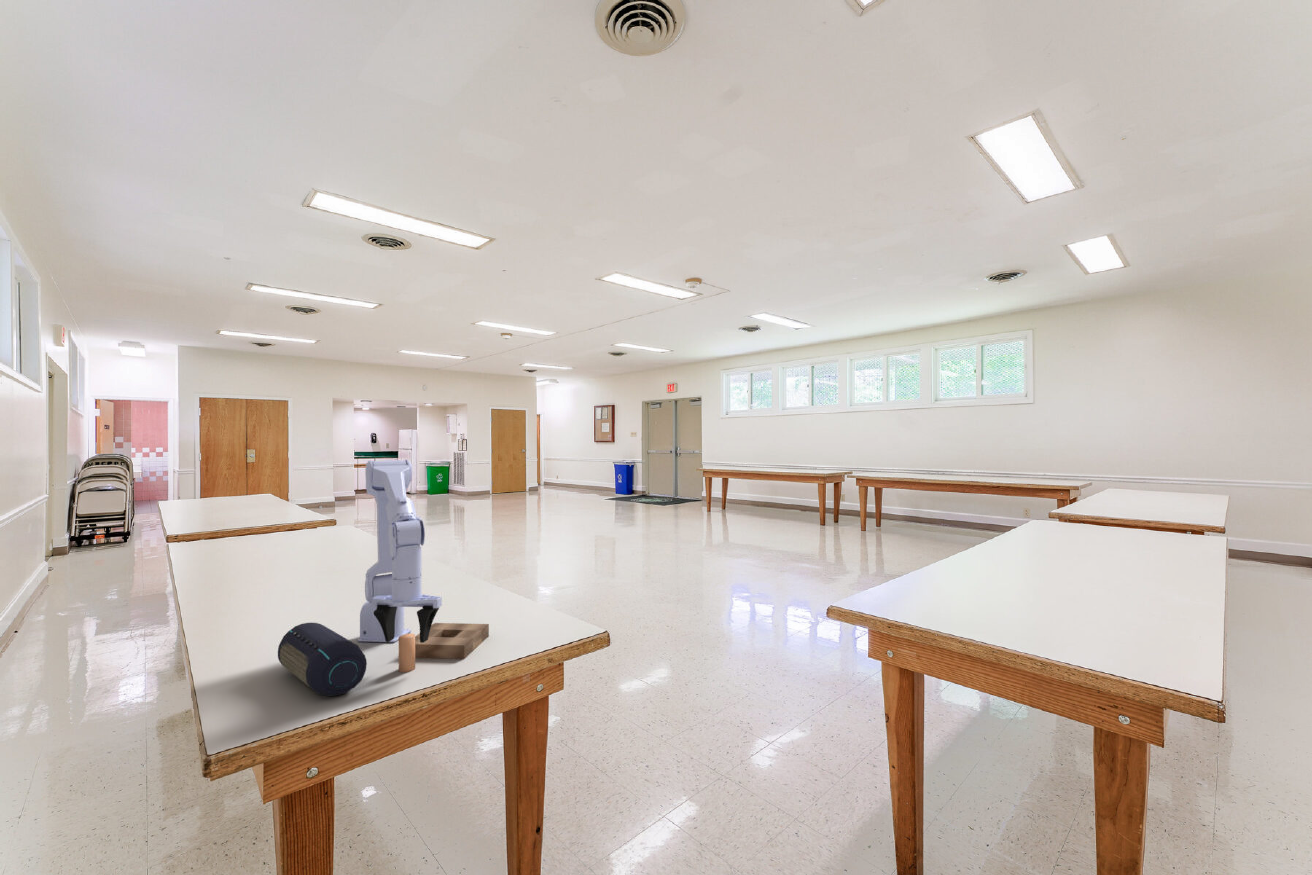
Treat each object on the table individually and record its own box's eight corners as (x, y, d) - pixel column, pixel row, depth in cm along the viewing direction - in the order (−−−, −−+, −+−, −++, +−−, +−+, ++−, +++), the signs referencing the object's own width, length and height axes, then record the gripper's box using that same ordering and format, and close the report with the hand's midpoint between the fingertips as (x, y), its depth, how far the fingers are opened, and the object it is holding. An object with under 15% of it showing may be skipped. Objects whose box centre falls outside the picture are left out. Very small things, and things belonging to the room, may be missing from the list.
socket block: (404, 657, 121) (404, 643, 121) (434, 634, 135) (434, 622, 135) (464, 658, 120) (464, 645, 120) (488, 635, 134) (488, 623, 134)
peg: (395, 671, 113) (395, 638, 113) (403, 665, 116) (403, 633, 116) (410, 672, 113) (410, 639, 113) (418, 666, 116) (418, 633, 116)
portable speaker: (271, 672, 113) (271, 625, 113) (324, 657, 121) (324, 613, 121) (315, 710, 97) (315, 655, 97) (372, 690, 105) (372, 639, 105)
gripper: (362, 581, 111) (363, 646, 111) (430, 581, 110) (430, 648, 110) (382, 572, 118) (382, 634, 118) (446, 573, 117) (446, 635, 117)
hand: (407, 640), depth 114 cm, fingers open, 7 cm apart
